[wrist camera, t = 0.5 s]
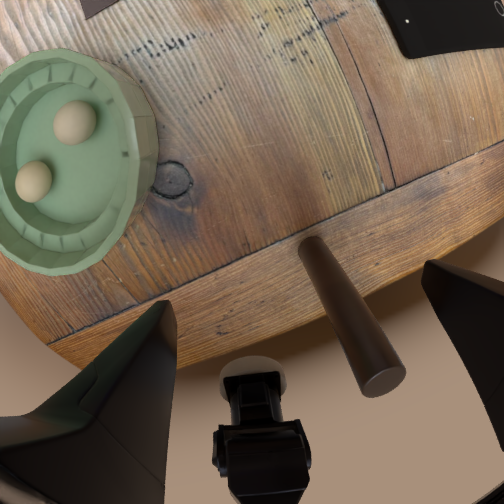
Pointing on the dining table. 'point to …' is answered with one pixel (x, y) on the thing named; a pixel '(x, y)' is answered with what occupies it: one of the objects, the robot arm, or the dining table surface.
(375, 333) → the stick
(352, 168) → the dining table surface
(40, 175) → the bead
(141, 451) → the robot arm
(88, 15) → the booklet
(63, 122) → the bead
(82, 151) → the bowl
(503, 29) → the cell phone
